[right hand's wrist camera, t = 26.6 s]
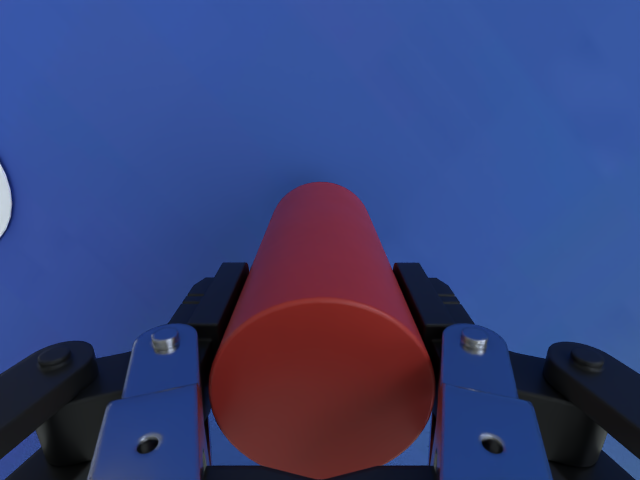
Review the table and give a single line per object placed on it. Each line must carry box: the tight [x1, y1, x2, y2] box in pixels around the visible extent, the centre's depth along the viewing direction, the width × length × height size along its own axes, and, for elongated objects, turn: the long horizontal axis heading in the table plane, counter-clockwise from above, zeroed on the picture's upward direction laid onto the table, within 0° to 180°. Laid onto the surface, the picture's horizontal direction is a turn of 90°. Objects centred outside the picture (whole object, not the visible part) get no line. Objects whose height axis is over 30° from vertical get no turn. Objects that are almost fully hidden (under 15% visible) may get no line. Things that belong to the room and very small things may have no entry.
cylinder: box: [208, 182, 436, 479], centre depth 12 cm, size 5×5×10 cm
